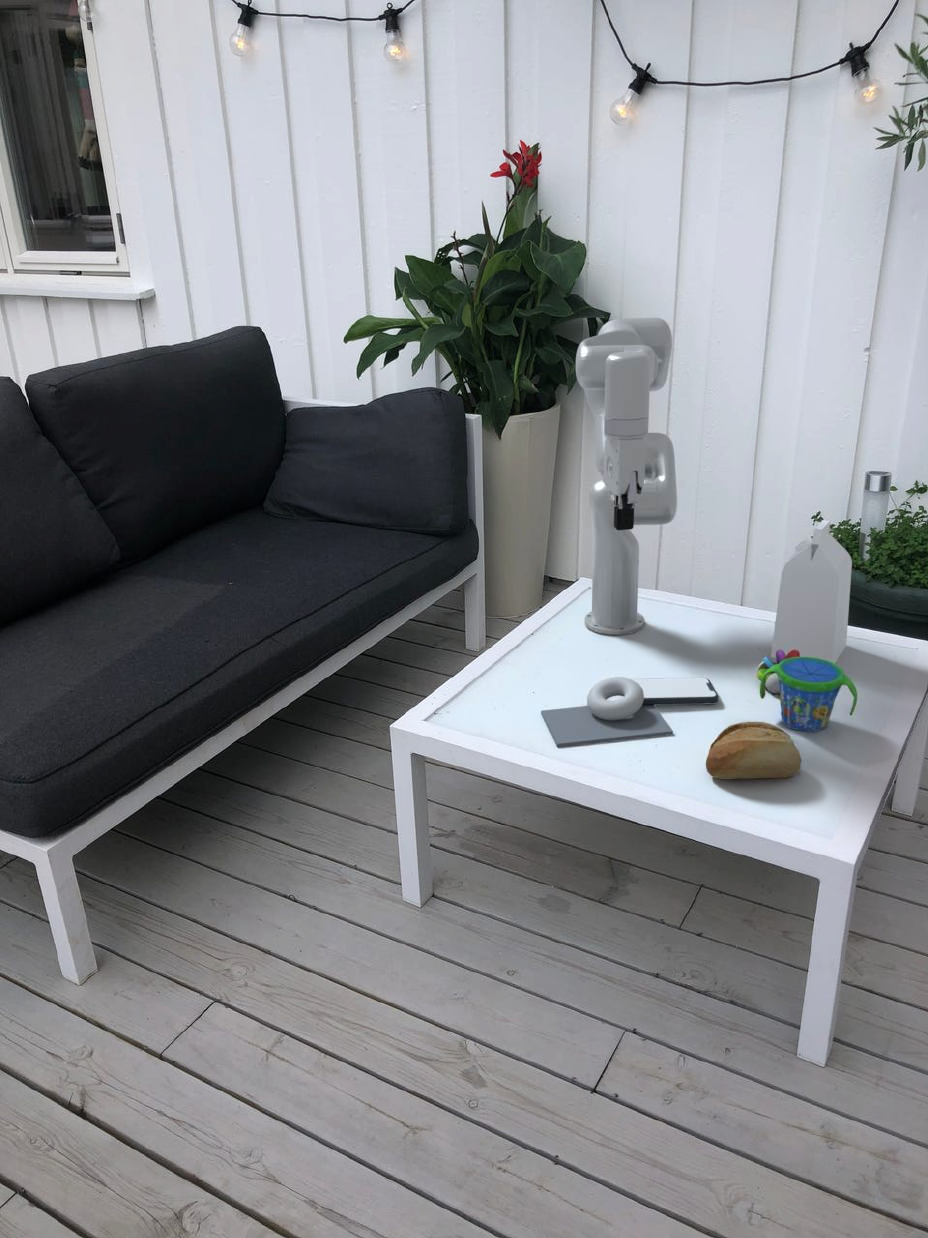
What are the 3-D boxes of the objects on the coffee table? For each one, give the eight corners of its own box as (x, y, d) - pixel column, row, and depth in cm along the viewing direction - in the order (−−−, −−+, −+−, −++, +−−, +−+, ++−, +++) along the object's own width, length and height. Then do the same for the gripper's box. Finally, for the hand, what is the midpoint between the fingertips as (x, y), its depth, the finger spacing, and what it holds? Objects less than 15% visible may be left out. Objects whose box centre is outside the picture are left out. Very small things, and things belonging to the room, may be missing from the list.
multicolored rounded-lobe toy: (816, 695, 181) (821, 659, 178) (762, 697, 181) (766, 661, 178) (801, 675, 189) (805, 639, 186) (750, 677, 189) (753, 641, 186)
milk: (831, 668, 191) (846, 537, 181) (770, 657, 196) (782, 529, 186) (846, 645, 200) (861, 519, 190) (787, 635, 206) (799, 512, 196)
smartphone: (629, 707, 178) (719, 705, 178) (630, 699, 177) (720, 697, 177) (621, 686, 186) (707, 684, 186) (621, 678, 186) (708, 676, 186)
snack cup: (860, 721, 172) (867, 667, 168) (843, 748, 164) (850, 692, 160) (769, 700, 180) (774, 648, 176) (749, 725, 172) (753, 671, 168)
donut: (576, 712, 178) (619, 732, 171) (573, 696, 176) (616, 716, 169) (614, 681, 182) (657, 699, 175) (611, 666, 181) (654, 684, 173)
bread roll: (694, 762, 162) (697, 718, 158) (784, 753, 163) (789, 710, 160) (715, 794, 153) (718, 748, 150) (810, 785, 154) (815, 739, 151)
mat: (541, 713, 178) (541, 710, 178) (650, 702, 181) (650, 699, 180) (556, 747, 167) (556, 743, 167) (672, 734, 170) (672, 731, 169)
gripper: (593, 419, 180) (592, 518, 187) (617, 436, 166) (615, 543, 173) (634, 416, 180) (631, 515, 188) (661, 433, 167) (657, 539, 174)
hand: (623, 528), depth 180 cm, fingers closed
